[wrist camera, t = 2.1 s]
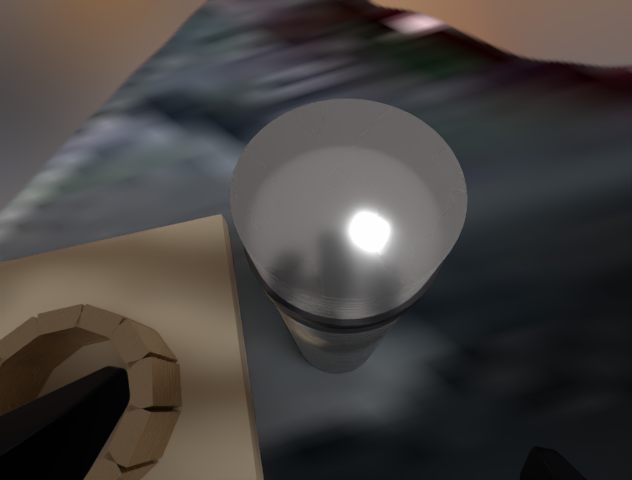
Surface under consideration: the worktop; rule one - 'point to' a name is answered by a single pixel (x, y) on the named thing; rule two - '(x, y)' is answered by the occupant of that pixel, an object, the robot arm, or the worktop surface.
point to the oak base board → (169, 321)
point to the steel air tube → (346, 221)
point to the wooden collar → (143, 374)
